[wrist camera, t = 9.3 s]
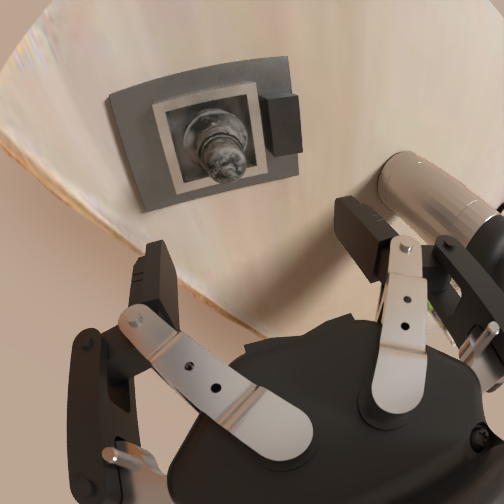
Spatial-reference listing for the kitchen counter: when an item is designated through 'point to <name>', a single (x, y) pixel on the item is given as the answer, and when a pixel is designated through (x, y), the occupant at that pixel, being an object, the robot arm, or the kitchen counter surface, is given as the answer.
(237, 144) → the grey chess piece
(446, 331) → the syrup box
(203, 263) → the kitchen counter surface
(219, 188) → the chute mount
